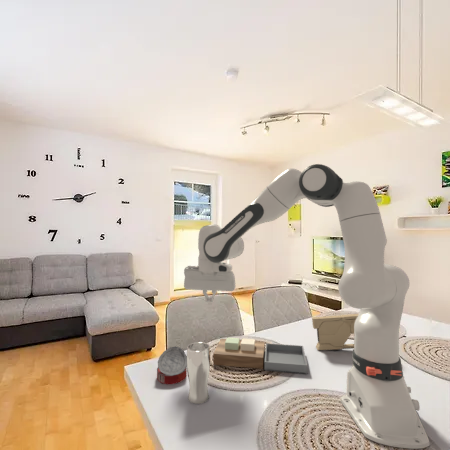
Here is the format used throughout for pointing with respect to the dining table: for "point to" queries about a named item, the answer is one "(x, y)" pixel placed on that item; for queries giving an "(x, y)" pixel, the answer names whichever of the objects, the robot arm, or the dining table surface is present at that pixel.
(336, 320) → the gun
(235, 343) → the tile
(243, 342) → the tile
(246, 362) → the wooden block
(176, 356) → the canned food
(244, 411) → the dining table surface
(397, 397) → the robot arm
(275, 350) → the tray
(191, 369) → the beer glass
